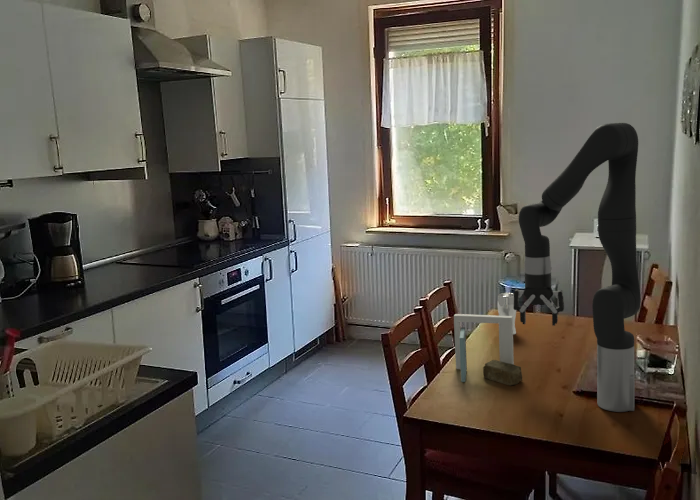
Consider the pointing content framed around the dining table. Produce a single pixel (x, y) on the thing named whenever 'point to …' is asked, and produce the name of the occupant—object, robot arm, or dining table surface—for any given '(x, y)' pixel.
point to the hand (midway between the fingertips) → (539, 324)
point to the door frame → (504, 334)
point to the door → (463, 354)
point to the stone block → (502, 372)
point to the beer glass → (507, 306)
